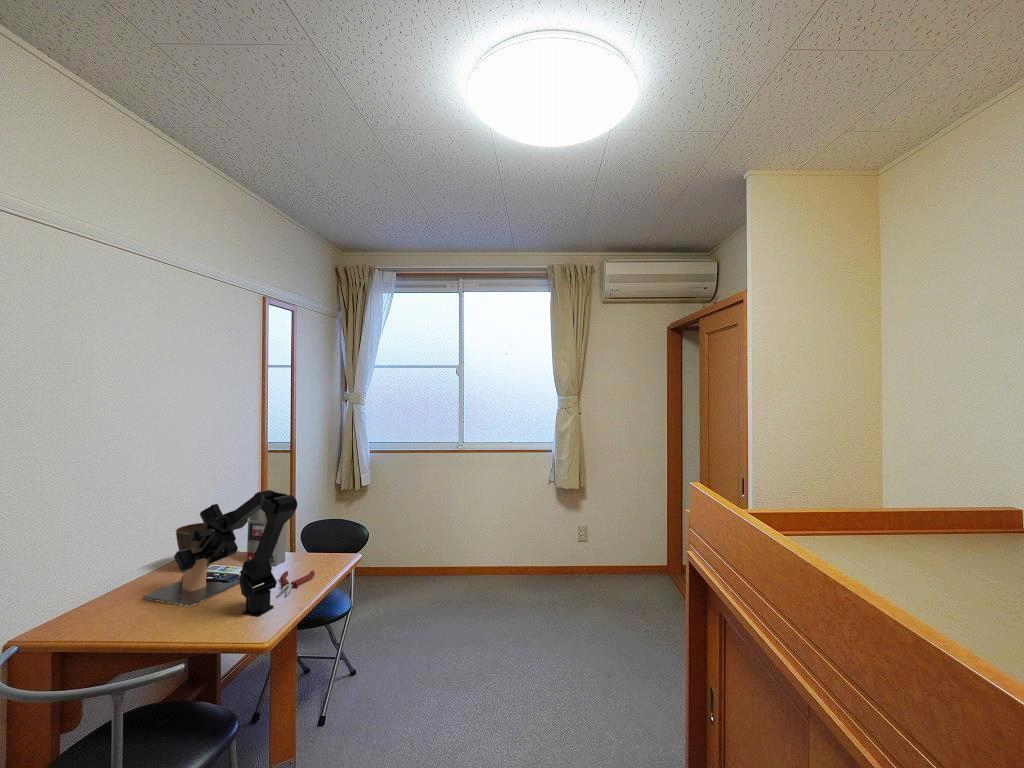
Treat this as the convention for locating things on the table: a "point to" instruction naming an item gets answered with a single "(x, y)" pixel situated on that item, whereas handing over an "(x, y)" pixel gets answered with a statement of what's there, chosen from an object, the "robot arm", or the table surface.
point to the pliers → (293, 582)
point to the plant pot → (183, 538)
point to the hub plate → (185, 597)
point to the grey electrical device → (255, 533)
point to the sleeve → (195, 576)
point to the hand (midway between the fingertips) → (196, 566)
